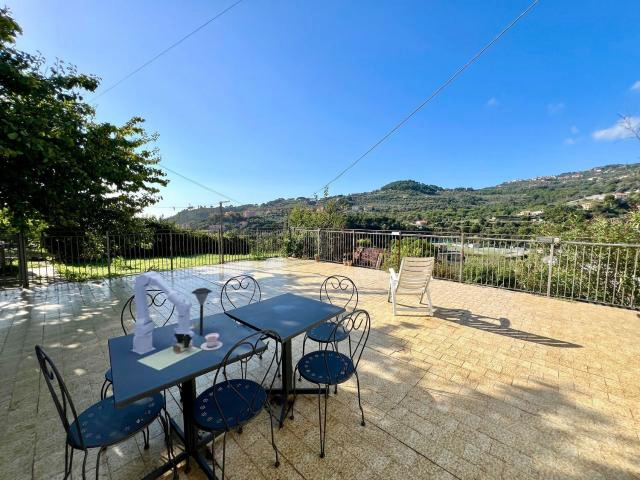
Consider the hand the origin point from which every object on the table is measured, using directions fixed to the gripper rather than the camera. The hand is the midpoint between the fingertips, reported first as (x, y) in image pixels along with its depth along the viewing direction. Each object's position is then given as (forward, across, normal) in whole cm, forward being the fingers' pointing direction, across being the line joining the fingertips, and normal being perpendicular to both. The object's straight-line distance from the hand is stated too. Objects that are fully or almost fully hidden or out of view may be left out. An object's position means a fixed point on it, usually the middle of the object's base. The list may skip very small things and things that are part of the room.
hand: (183, 346), depth 147 cm
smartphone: (+3, -27, +26) cm, 38 cm away
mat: (+3, -1, -6) cm, 7 cm away
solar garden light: (+3, -10, +20) cm, 23 cm away
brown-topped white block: (+1, 0, 0) cm, 1 cm away
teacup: (+3, +8, +12) cm, 15 cm away
